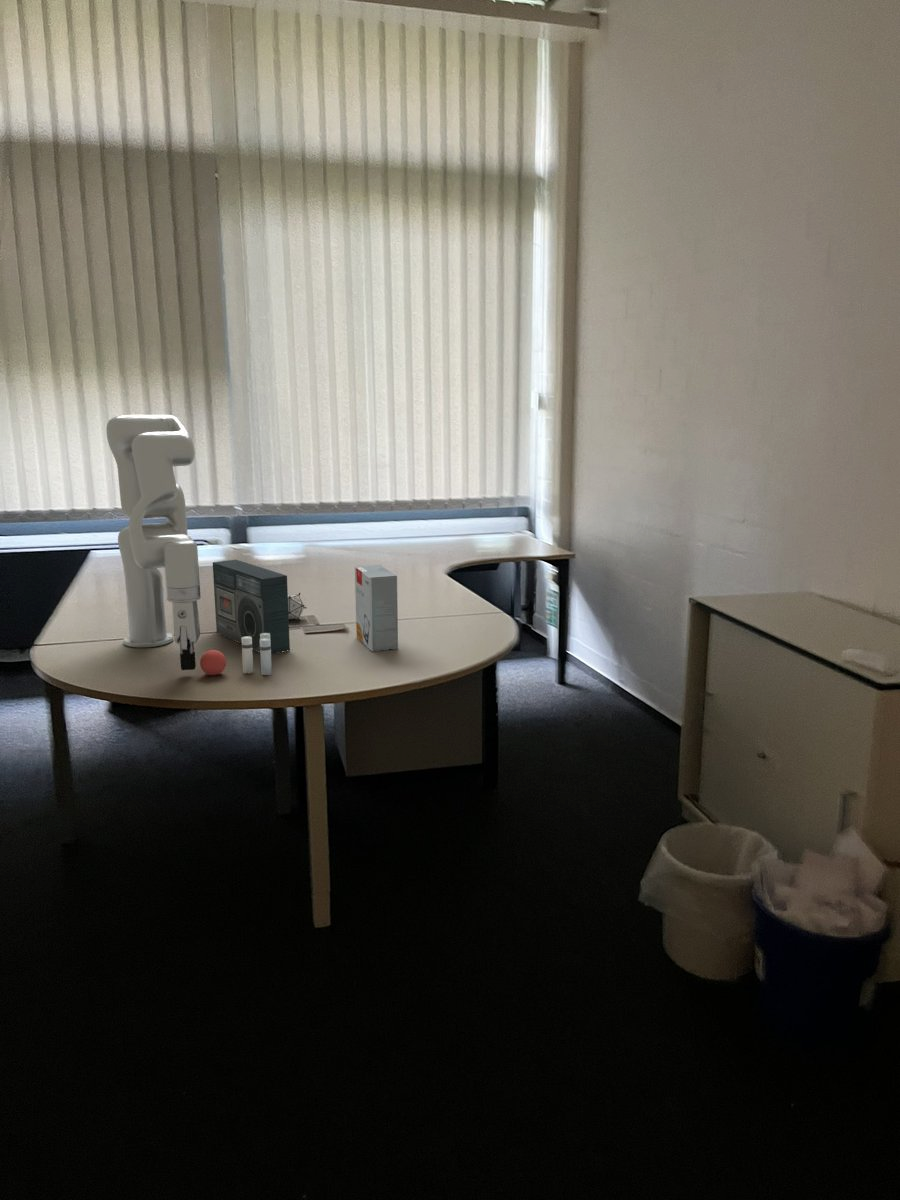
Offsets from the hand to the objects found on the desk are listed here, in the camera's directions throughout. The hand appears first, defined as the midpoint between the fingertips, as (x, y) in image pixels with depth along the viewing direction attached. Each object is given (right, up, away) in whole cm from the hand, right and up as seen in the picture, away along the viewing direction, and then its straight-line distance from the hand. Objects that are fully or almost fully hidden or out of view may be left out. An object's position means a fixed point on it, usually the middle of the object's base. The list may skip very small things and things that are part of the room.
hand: (188, 668), depth 210 cm
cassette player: (+8, +5, +30) cm, 32 cm away
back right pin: (+18, -1, +1) cm, 18 cm away
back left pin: (+17, 0, +6) cm, 18 cm away
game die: (+15, +10, +53) cm, 56 cm away
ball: (+6, +1, 0) cm, 6 cm away
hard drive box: (+42, +4, +28) cm, 51 cm away
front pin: (+13, -1, +3) cm, 14 cm away
